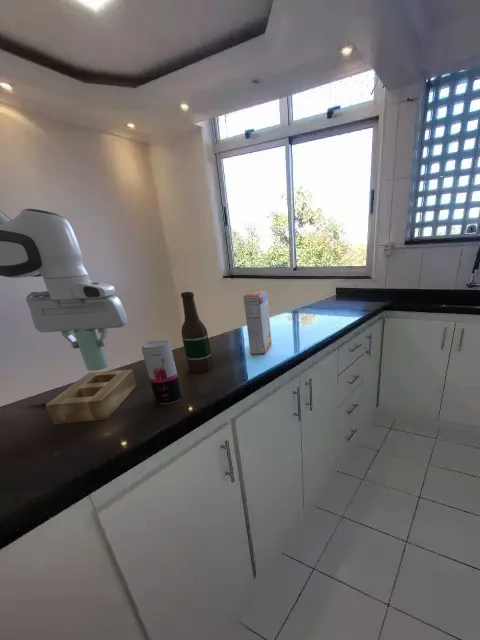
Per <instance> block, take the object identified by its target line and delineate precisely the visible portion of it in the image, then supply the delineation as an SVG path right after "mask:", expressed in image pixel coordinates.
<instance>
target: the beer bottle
mask: <svg viewBox="0 0 480 640" xmlns="http://www.w3.org/2000/svg"><path fill="white" fill-rule="evenodd" d="M180 297H181V299H182V308H183V313H184V314H183V315H184V320H183V324H182V325H181V331H180V332H181V338H182V344H183V349H184V354H185V358H186V362H187V367H188V370H189V371H190V372H191V373H192V374H203V373H206V372H210V371H211V370H212V369H213V368H214V365H213V364H214V363H213V357H212V351H211V345H210V344H211V343H210V339H209V333H208V330H207V328H206V326H205V324H204V323H203V321H202V320H201V319H200V317H199V314H198V310H197V306H196V302H195V299H194V297H195V294H194V292H193V291H184V292H181V293H180Z"/></svg>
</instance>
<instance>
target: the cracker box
mask: <svg viewBox="0 0 480 640" xmlns="http://www.w3.org/2000/svg"><path fill="white" fill-rule="evenodd" d="M268 297H269V296H268V290H267V289H254V290H251V291H250V292H248V293H247V294H244V295H243V305H244V314H245V320H246V321H245V322H246V327H247V328H246V329H247V336H248V337H247V338H248V345H249V353H250V355H266V353H267V351H268V350H269V348H270V347H271V346H272V334H271V332H272V330H271V322H270V310H269V298H268Z"/></svg>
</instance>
